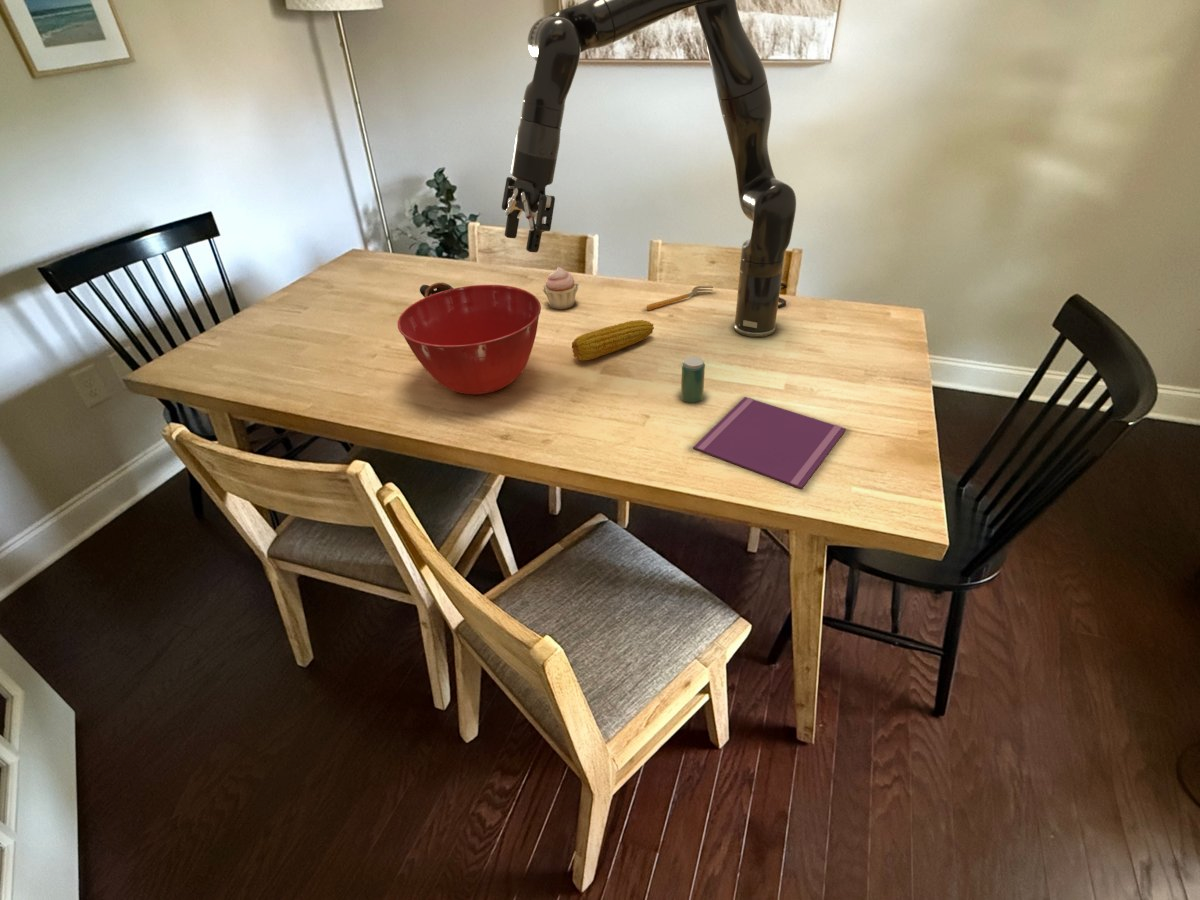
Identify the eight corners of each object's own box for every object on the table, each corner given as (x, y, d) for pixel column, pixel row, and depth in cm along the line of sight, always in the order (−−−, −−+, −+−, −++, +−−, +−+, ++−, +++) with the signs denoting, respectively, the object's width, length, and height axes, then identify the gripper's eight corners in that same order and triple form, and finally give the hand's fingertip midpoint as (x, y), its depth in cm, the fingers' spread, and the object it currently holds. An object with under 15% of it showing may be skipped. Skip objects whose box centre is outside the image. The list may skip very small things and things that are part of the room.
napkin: (744, 398, 126) (744, 396, 125) (845, 430, 115) (846, 428, 115) (693, 448, 113) (693, 446, 113) (801, 489, 103) (801, 487, 103)
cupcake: (562, 294, 171) (559, 257, 165) (587, 303, 166) (585, 265, 160) (536, 305, 166) (532, 268, 160) (560, 315, 160) (557, 276, 155)
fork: (649, 306, 159) (713, 286, 166) (645, 302, 160) (709, 282, 167) (648, 314, 161) (712, 294, 168) (644, 310, 162) (707, 290, 169)
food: (583, 368, 138) (582, 343, 135) (569, 358, 142) (567, 334, 138) (658, 339, 148) (658, 315, 144) (643, 331, 151) (643, 307, 148)
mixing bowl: (428, 429, 121) (411, 357, 112) (403, 365, 143) (386, 300, 133) (567, 393, 130) (561, 323, 121) (523, 337, 151) (515, 274, 142)
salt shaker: (687, 388, 129) (689, 353, 125) (707, 395, 127) (709, 359, 122) (676, 398, 127) (677, 362, 122) (695, 404, 124) (698, 368, 120)
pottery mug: (470, 305, 169) (463, 286, 161) (451, 332, 166) (443, 314, 158) (432, 288, 171) (424, 268, 164) (412, 315, 168) (403, 296, 160)
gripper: (575, 164, 109) (557, 258, 117) (534, 146, 118) (520, 234, 126) (537, 157, 105) (521, 255, 113) (498, 139, 114) (485, 231, 122)
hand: (520, 244), depth 119 cm, fingers open, 8 cm apart
